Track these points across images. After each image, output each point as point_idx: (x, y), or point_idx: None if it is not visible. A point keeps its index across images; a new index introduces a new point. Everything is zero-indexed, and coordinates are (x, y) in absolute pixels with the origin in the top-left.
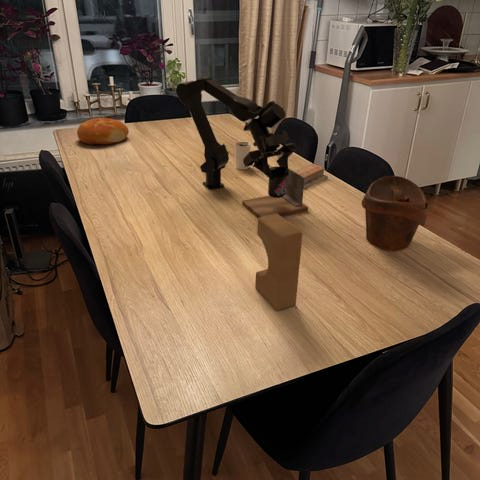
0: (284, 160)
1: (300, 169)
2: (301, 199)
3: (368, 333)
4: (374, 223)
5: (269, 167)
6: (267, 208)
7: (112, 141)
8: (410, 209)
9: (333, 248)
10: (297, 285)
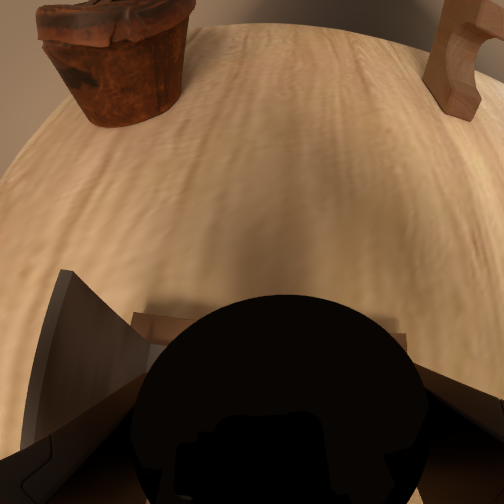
0: (44, 501)
1: None
2: (138, 334)
3: (356, 38)
4: (185, 38)
5: (486, 420)
6: None
7: None
8: None
9: (269, 114)
10: (430, 52)
